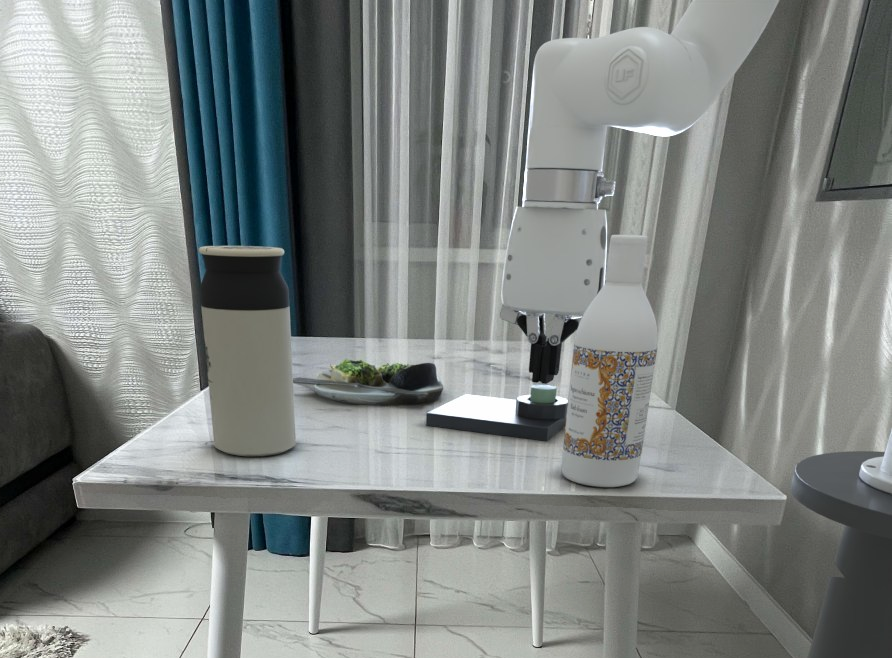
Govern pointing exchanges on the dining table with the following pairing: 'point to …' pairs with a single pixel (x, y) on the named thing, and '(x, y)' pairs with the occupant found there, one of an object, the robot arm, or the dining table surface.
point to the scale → (502, 416)
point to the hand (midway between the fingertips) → (542, 380)
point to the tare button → (543, 393)
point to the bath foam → (612, 374)
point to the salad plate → (377, 383)
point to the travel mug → (248, 349)
